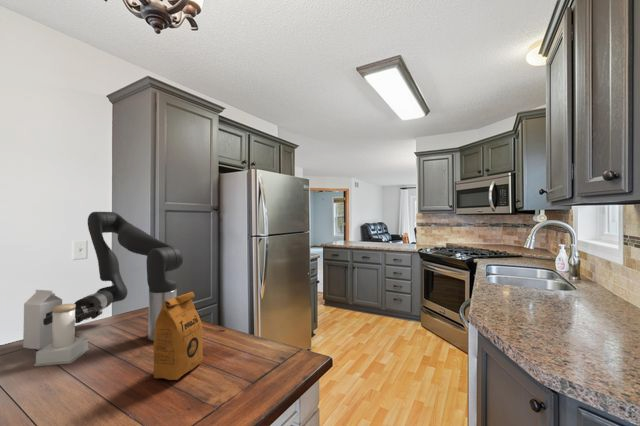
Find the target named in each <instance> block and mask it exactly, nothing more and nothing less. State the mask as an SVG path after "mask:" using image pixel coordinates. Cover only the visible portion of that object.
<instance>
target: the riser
mask: <svg viewBox="0 0 640 426" xmlns="http://www.w3.org/2000/svg"><path fill="white" fill-rule="evenodd" d="M87 351H90V348H89V347H88V337H82V338H81V337H79V338H75V340H74V344H72V345H70V346H67V347H63V348H52V343H51V344H49V345H47V346H46V347H44V348H42V349H38V351H36V352H35V363H34V364H33V367H42V366H53V365H55V366H56V365H64V364H66V365H67V364H72V363H73V362H74V361H76V360H77V359H78V358H80V357H81V356H82V355H83V354H85V353H86V352H87Z"/></svg>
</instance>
